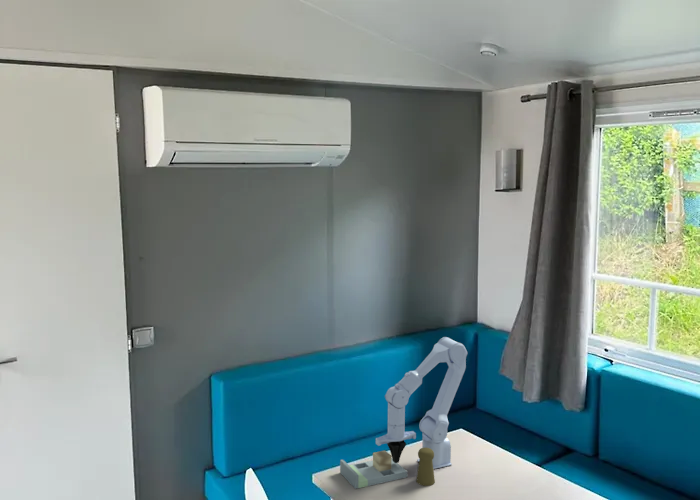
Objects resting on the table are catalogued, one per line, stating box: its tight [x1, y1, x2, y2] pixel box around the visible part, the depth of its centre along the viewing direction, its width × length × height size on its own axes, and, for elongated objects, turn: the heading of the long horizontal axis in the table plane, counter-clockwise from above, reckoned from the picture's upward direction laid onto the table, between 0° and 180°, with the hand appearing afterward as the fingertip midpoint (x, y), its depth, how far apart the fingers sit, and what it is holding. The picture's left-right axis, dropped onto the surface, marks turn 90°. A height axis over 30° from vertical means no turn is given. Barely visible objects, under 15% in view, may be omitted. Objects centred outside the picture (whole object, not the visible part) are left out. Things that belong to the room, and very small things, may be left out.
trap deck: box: [339, 457, 408, 490], centre depth 206 cm, size 19×12×4 cm, turn 115°
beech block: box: [372, 450, 392, 472], centre depth 207 cm, size 5×5×5 cm
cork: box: [415, 447, 436, 487], centre depth 201 cm, size 6×6×11 cm
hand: (395, 461), depth 209 cm, fingers closed
